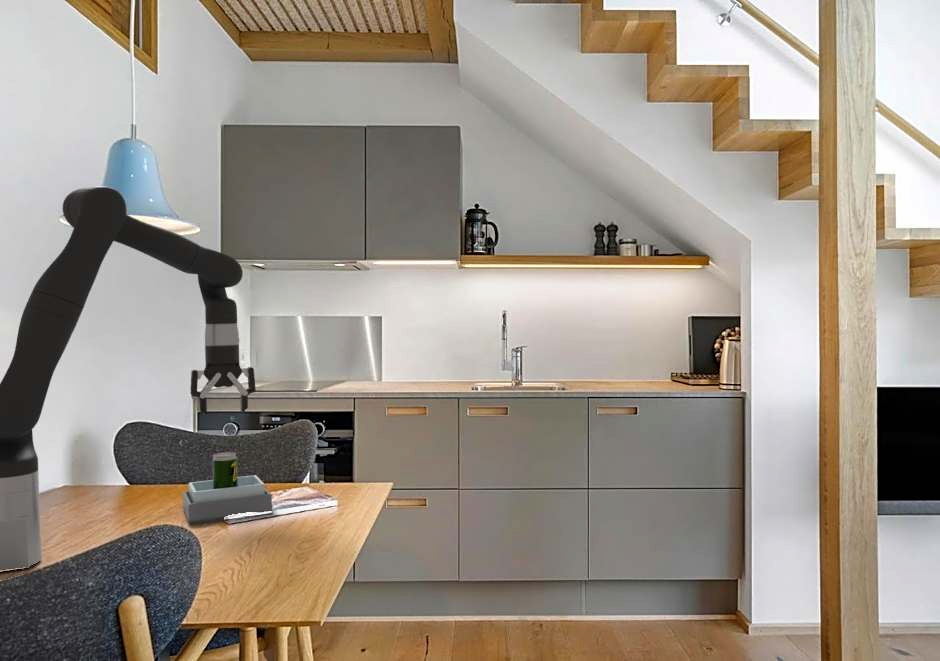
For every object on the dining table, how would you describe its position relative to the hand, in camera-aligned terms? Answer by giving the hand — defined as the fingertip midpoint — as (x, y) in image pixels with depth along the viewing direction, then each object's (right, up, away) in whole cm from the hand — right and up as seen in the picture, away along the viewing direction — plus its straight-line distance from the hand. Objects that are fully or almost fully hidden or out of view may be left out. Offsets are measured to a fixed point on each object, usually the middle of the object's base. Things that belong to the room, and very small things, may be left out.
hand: (223, 413), depth 175 cm
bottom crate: (+1, -23, 0) cm, 23 cm away
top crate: (+1, -23, 0) cm, 23 cm away
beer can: (0, -22, 0) cm, 22 cm away
